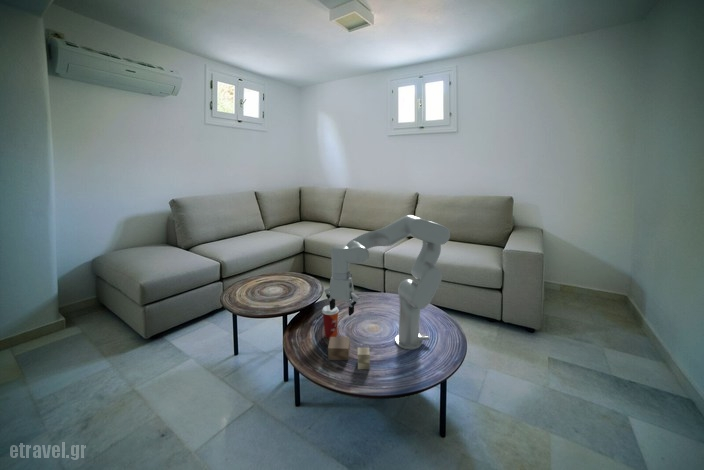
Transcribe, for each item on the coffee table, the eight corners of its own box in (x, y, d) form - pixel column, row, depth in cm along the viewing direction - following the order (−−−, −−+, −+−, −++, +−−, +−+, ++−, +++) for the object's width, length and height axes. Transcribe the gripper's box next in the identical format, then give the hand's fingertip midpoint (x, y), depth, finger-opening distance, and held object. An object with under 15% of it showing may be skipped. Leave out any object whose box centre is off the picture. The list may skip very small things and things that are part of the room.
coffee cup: (337, 340, 148) (336, 312, 144) (320, 339, 149) (319, 311, 146) (341, 331, 156) (340, 305, 152) (325, 330, 157) (324, 303, 154)
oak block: (369, 361, 132) (369, 347, 130) (369, 369, 127) (369, 354, 126) (357, 361, 132) (357, 347, 130) (357, 369, 127) (357, 354, 126)
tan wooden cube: (349, 348, 142) (349, 336, 140) (348, 360, 133) (348, 348, 132) (330, 348, 142) (330, 336, 141) (328, 360, 134) (327, 348, 132)
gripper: (363, 275, 126) (363, 312, 130) (329, 268, 135) (330, 303, 139) (353, 281, 120) (354, 320, 124) (319, 273, 129) (320, 310, 133)
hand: (341, 311), depth 131 cm, fingers open, 9 cm apart
